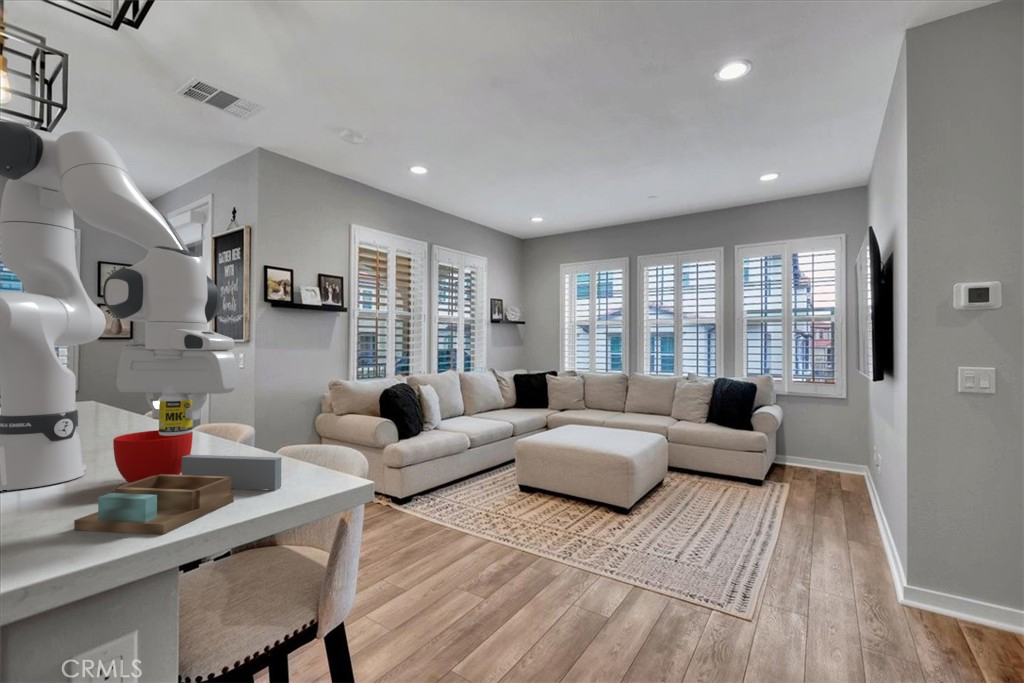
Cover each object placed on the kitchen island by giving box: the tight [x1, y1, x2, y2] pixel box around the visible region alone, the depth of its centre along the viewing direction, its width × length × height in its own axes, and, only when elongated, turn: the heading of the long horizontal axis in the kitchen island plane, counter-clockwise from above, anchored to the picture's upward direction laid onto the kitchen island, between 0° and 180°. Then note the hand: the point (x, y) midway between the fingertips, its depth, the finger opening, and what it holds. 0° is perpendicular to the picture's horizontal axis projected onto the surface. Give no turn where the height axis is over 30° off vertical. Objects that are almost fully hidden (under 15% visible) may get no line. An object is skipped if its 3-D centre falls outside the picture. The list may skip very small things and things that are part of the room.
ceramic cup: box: [112, 429, 193, 484], centre depth 97 cm, size 13×17×10 cm
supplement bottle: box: [158, 386, 194, 436], centre depth 82 cm, size 5×5×8 cm
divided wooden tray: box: [73, 474, 235, 535], centre depth 79 cm, size 15×15×5 cm
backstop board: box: [180, 454, 282, 491], centre depth 94 cm, size 20×2×6 cm, turn 84°
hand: (176, 419), depth 82 cm, fingers closed on supplement bottle, 5 cm apart
